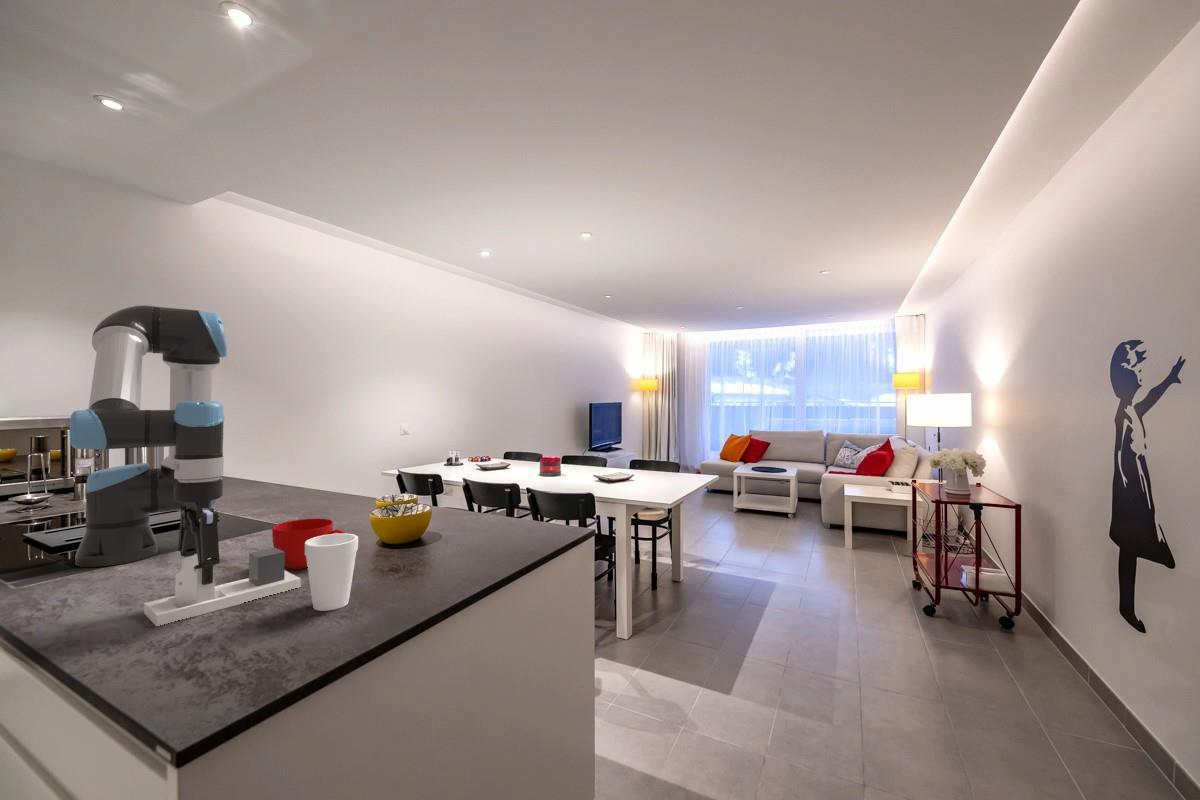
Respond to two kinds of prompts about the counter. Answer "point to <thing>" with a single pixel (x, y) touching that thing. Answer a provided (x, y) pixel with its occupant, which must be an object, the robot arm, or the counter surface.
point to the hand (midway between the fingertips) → (197, 594)
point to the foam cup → (331, 569)
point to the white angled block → (187, 587)
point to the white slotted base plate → (232, 589)
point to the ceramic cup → (299, 538)
